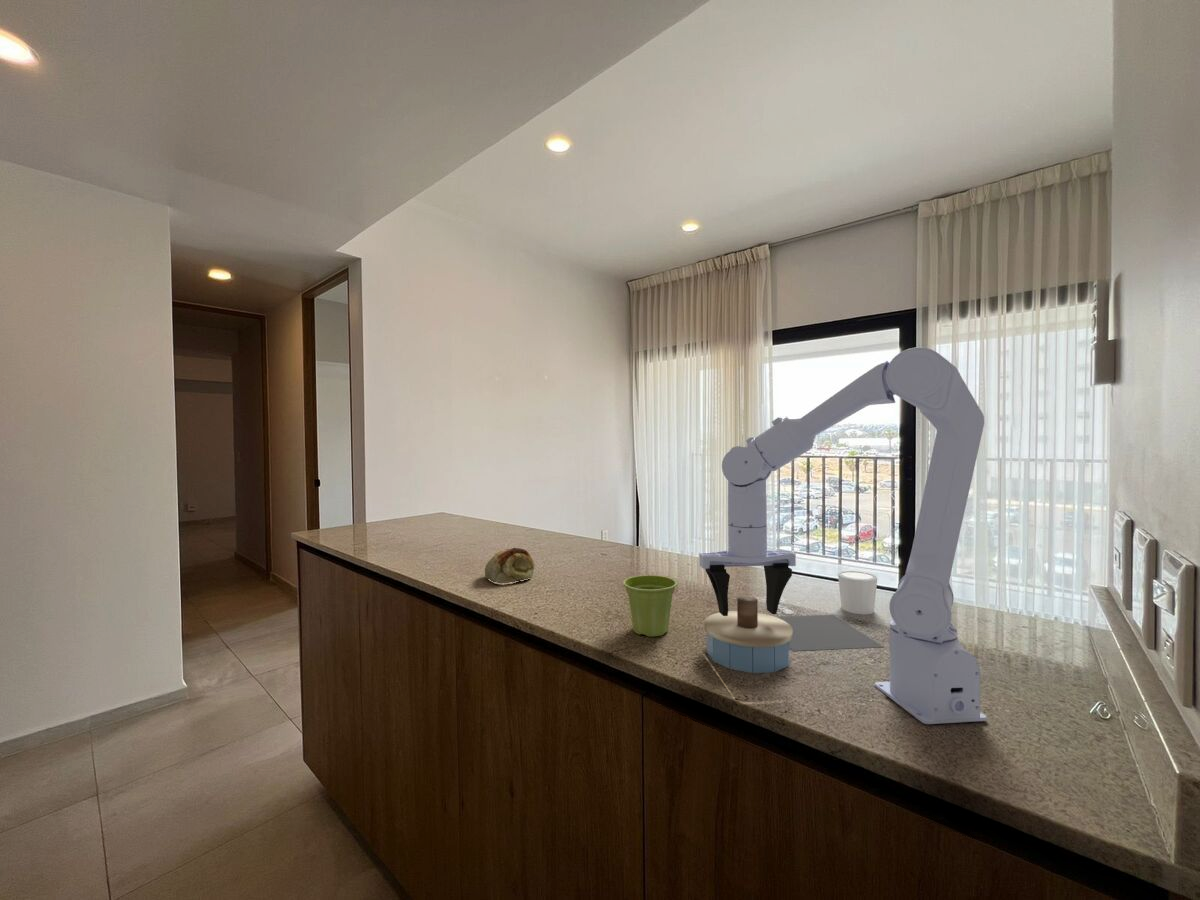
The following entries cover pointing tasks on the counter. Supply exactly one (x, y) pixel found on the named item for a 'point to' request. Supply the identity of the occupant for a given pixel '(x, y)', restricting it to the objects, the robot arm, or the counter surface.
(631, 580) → the plant pot
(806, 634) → the mat
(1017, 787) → the counter surface
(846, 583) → the white cup
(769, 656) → the bowl
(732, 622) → the lid
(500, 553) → the pastry
